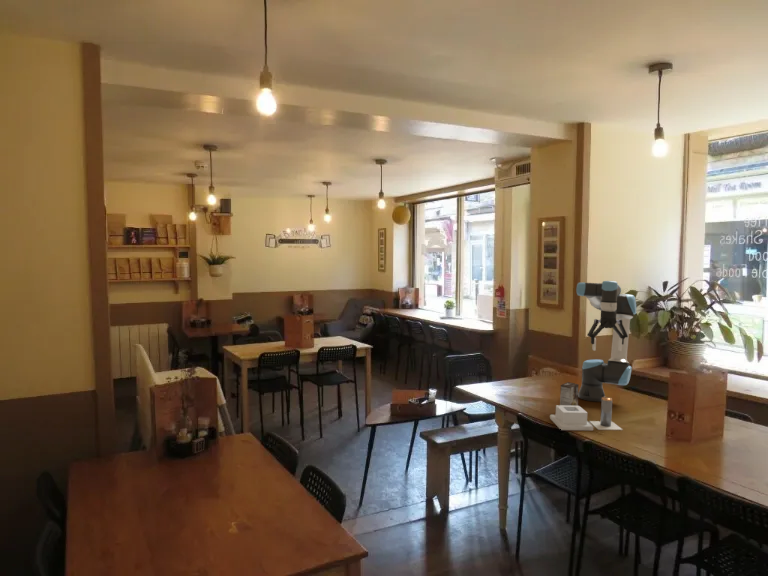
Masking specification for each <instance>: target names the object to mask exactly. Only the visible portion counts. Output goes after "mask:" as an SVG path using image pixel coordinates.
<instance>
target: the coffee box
mask: <svg viewBox="0 0 768 576" xmlns="http://www.w3.org/2000/svg"><path fill="white" fill-rule="evenodd" d="M559 393H560V399H559V405H573V406H579V397H578V393H579V384H577V383H574V382H569V381H567V382H565V383H562V384H560V392H559Z"/></svg>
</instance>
